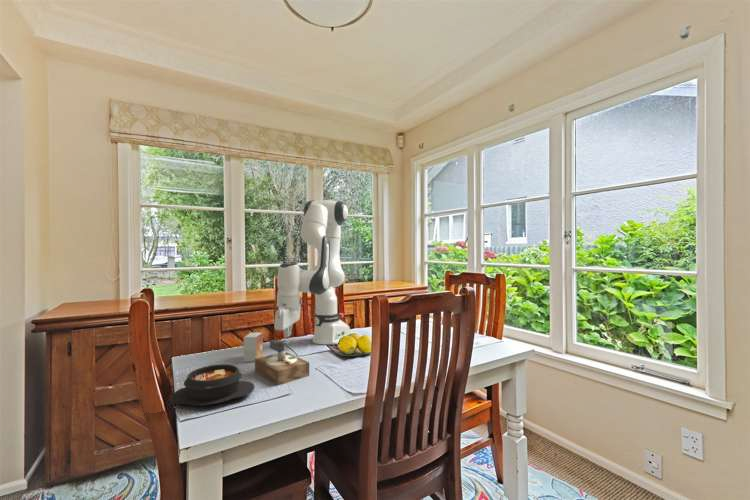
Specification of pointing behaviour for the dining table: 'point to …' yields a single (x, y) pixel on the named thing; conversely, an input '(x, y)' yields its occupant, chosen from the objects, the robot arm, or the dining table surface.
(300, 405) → the dining table surface
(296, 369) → the dial block
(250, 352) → the small box
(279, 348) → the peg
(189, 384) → the casserole
